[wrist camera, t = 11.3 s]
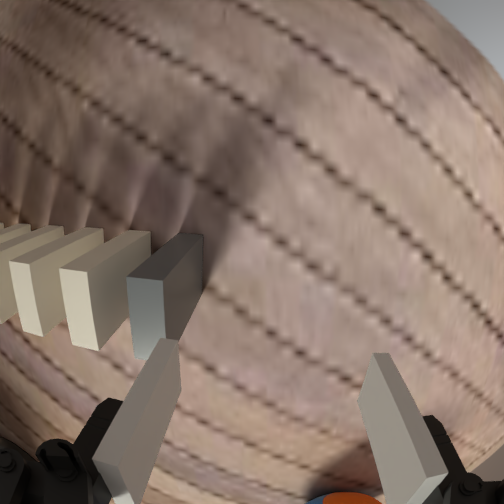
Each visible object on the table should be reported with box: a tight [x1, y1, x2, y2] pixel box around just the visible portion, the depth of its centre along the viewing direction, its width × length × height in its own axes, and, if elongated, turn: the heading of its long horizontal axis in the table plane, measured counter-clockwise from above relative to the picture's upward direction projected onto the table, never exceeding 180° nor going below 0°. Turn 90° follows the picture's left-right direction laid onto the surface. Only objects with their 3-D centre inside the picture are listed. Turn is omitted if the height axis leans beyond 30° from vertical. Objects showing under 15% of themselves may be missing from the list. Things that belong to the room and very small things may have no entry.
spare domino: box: [126, 233, 203, 360], centre depth 21 cm, size 2×5×10 cm, turn 177°
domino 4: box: [9, 227, 104, 337], centre depth 21 cm, size 2×5×10 cm, turn 176°
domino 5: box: [59, 230, 151, 351], centre depth 21 cm, size 2×5×10 cm, turn 176°
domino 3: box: [0, 225, 64, 324], centre depth 21 cm, size 2×5×10 cm, turn 176°
